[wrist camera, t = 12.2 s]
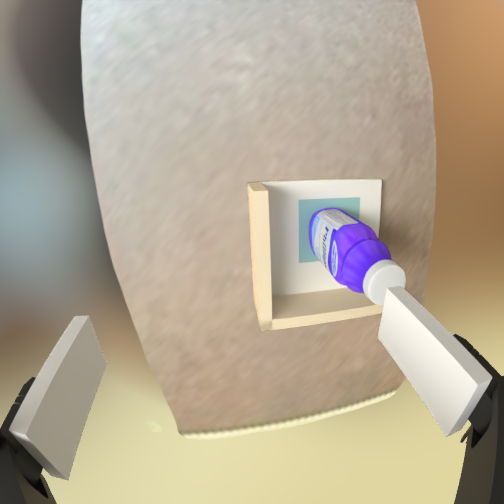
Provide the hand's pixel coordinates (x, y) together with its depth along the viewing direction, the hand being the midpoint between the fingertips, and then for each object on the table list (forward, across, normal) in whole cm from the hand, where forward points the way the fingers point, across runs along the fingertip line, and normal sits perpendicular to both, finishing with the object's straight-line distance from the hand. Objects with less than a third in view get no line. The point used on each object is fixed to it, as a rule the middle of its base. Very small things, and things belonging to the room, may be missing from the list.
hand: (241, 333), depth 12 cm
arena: (+29, +12, -7) cm, 32 cm away
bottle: (+28, +13, -5) cm, 31 cm away
